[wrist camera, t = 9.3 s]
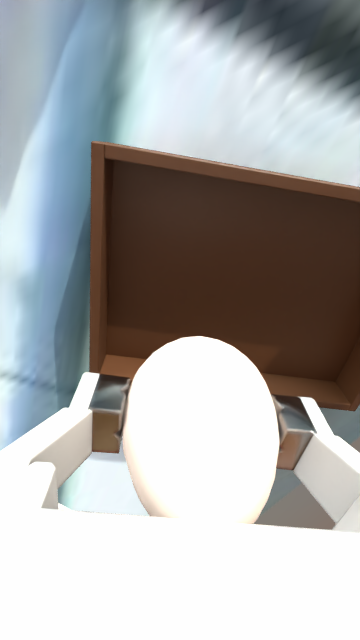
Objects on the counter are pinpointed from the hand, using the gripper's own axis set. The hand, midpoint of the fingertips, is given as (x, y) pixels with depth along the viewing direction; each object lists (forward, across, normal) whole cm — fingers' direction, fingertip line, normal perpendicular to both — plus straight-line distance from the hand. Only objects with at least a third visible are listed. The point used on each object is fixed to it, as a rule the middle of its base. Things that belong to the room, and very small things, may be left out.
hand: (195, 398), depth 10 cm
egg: (+2, 0, 0) cm, 2 cm away
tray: (+11, -4, 0) cm, 12 cm away
